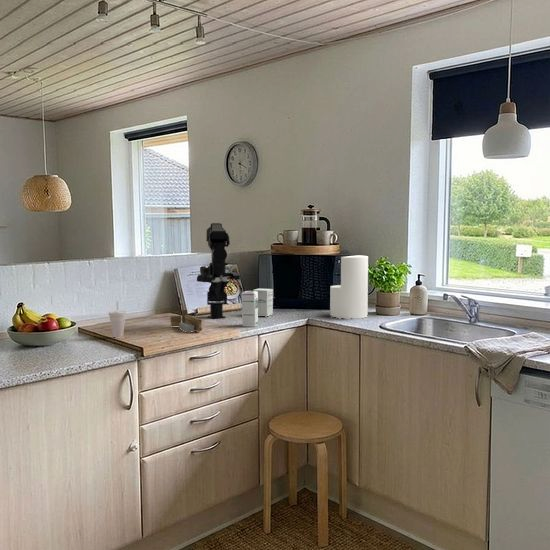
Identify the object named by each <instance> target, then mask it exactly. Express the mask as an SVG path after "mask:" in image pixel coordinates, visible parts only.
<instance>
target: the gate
mask: <svg viewBox="0 0 550 550" xmlns="http://www.w3.org/2000/svg"><path fill="white" fill-rule="evenodd" d="M185 322H187V323H190V324H192V325H194V331H196V332H199V333H200V331H201V332H203V327H202V323H203V320H202V319H201V318H198V317H195V316H193V315H190V314H187V315H185Z"/></svg>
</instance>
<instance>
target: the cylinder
mask: <svg viewBox="0 0 550 550" xmlns="http://www.w3.org/2000/svg"><path fill="white" fill-rule="evenodd" d="M368 287H369V256H367V255H349V256H348V255H347V256H340V284H337V285H330V289H329V290H330V291H329V295H330V297H329V302H330V303H329V310H330V311H329V316H330V315H332V316H335V317H342V318H364V317H367V318H368V316H367V315H368V311H369V310H368V304H369V300H368V298H369V297H368V296H369V291H368V289H369V288H368ZM364 319H365V318H364Z"/></svg>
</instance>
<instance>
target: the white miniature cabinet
mask: <svg viewBox="0 0 550 550" xmlns="http://www.w3.org/2000/svg"><path fill="white" fill-rule="evenodd" d="M241 315H242V317H241V320H242V321H241V322H242V327H243V328H244V327H247V328H255V327H257V326H258V325H259V317H258V291H253V290H245V291H243V292H241Z"/></svg>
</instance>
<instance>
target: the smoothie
mask: <svg viewBox="0 0 550 550" xmlns="http://www.w3.org/2000/svg"><path fill="white" fill-rule="evenodd" d="M126 315H127V311H124V310H119V300H116V310H113V311H112V310H111V311H109V312H108V316H109V321H110V327H111V333H112V335H111V336H112V338H113V337H121V336H123V337H124V333H125V332H124V331H125V324H126V323H125V322H126Z"/></svg>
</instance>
